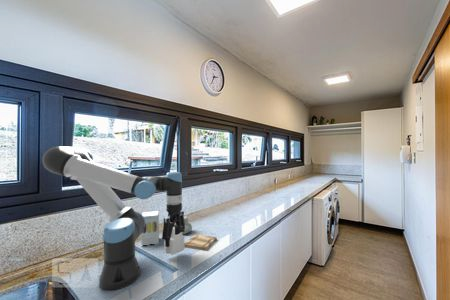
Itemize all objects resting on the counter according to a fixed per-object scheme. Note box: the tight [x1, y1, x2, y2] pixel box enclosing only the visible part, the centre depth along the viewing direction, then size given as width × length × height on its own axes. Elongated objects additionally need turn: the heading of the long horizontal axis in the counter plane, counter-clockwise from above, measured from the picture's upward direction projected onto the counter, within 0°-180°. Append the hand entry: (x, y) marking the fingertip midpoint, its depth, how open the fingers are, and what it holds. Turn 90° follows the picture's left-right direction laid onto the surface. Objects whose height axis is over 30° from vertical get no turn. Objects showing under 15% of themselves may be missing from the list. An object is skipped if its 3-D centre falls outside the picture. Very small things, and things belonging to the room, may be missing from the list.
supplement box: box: [140, 210, 160, 246], centre depth 119 cm, size 10×9×17 cm
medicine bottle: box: [163, 224, 185, 256], centre depth 101 cm, size 7×7×12 cm
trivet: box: [184, 233, 217, 252], centre depth 116 cm, size 14×14×2 cm
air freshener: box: [182, 215, 193, 235], centre depth 132 cm, size 11×8×10 cm
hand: (174, 248), depth 101 cm, fingers closed on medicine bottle, 8 cm apart
